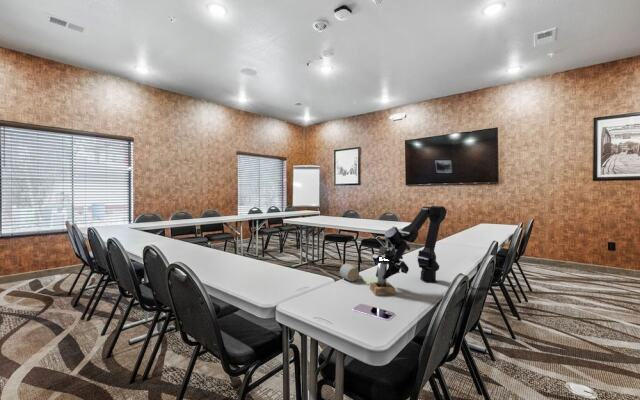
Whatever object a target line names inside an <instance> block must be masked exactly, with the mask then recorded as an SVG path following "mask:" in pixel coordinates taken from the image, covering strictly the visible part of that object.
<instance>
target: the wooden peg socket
mask: <svg viewBox="0 0 640 400" xmlns="http://www.w3.org/2000/svg"><path fill="white" fill-rule="evenodd" d="M377 283H378V282H370V285H369V290H370V291H371V292H372V293H373V294H374V296H394V295H395V293H396V291H395V290H396V288H395V287H394V286H393V285H392V284H391V283H390V282H389V281H386V287H378V286H377Z"/></svg>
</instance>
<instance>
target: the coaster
mask: <svg viewBox="0 0 640 400" xmlns="http://www.w3.org/2000/svg"><path fill="white" fill-rule="evenodd" d="M361 280H362V281H363V283H364V284H366V285H367V286H368V285H369V286H370V282H378V277H362V278H361Z"/></svg>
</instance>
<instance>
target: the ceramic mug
mask: <svg viewBox="0 0 640 400" xmlns="http://www.w3.org/2000/svg"><path fill="white" fill-rule="evenodd" d="M339 275H340V276H341V278H343V279H345V280H347V281H349V282H355V281H357V280H358V279H359V280H362V278H363V276H362V275H361V274H360V271H359V270H358V269H357V268H356V267H355V266H353V265H352V264H350V263H344V264H342V265H341V266H340V269H339Z"/></svg>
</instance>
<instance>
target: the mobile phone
mask: <svg viewBox="0 0 640 400" xmlns="http://www.w3.org/2000/svg"><path fill="white" fill-rule="evenodd" d="M351 311H353V312H356V313H359V314H363V315H366V316H369V317H372V318H375V319H378V320H379V319H380V320H382V321H385V322H387V321H390V320H391V319H393V317H395V316H396V313H395V312H394V311H389V310H386V309H382V308H380V307H379V308H378V307H376V306H371V305H368V304H364V303H359V304H358V305H355V307H353V308H352V310H351Z"/></svg>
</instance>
